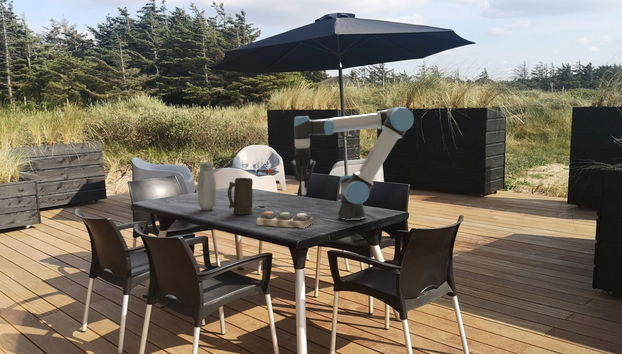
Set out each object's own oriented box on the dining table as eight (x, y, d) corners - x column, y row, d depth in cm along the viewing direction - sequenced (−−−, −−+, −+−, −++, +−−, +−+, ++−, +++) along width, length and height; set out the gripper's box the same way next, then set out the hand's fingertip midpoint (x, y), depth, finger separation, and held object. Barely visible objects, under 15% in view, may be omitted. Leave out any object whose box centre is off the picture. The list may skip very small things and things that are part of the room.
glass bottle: (212, 211, 296) (210, 163, 293) (195, 211, 298) (194, 163, 295) (218, 208, 306) (217, 161, 302) (202, 208, 308) (201, 161, 304)
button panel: (313, 223, 262) (313, 214, 261) (304, 228, 250) (304, 219, 250) (266, 220, 270) (266, 211, 270) (256, 224, 259) (256, 216, 259)
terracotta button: (275, 215, 265) (275, 211, 264) (271, 217, 260) (271, 213, 260) (266, 214, 266) (266, 211, 266) (262, 216, 262) (262, 212, 261)
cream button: (308, 217, 258) (308, 213, 258) (304, 219, 254) (304, 215, 254) (298, 216, 260) (298, 213, 260) (295, 218, 255) (295, 214, 255)
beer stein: (244, 211, 297) (243, 176, 295) (257, 213, 290) (256, 178, 288) (223, 215, 285) (222, 179, 283) (237, 217, 278) (236, 180, 276)
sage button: (291, 216, 262) (291, 212, 261) (287, 218, 257) (287, 214, 257) (282, 215, 263) (282, 212, 263) (278, 217, 259) (278, 213, 258)
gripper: (317, 146, 256) (318, 193, 259) (292, 147, 260) (294, 193, 263) (312, 147, 249) (314, 196, 252) (287, 148, 253) (289, 195, 256)
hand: (303, 194), depth 257 cm, fingers closed
